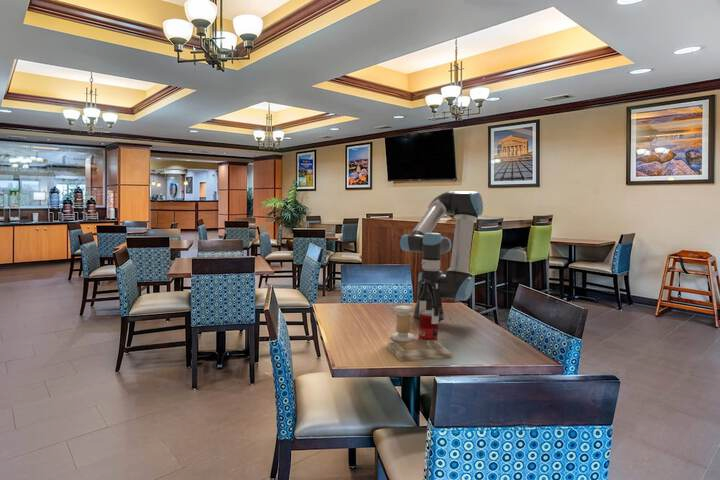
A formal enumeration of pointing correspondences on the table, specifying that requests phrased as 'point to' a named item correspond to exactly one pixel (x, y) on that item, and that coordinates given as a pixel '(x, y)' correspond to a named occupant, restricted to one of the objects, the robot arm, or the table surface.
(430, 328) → the canned food
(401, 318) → the bobbin
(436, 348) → the notched board
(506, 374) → the table surface
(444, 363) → the table surface
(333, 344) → the table surface
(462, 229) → the robot arm
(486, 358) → the table surface
